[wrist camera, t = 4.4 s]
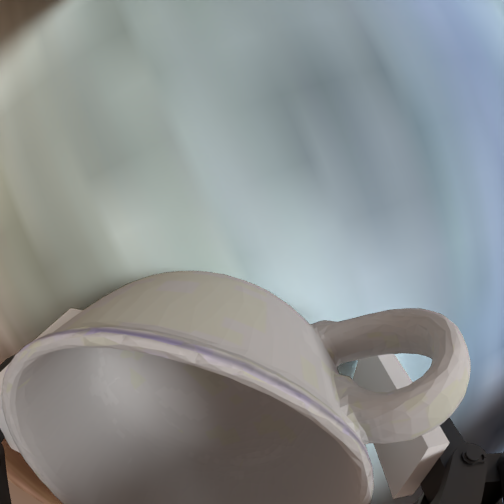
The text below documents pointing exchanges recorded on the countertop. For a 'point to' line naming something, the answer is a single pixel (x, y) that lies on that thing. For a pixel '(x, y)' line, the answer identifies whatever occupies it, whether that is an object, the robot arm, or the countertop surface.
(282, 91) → the countertop surface
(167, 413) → the teacup
